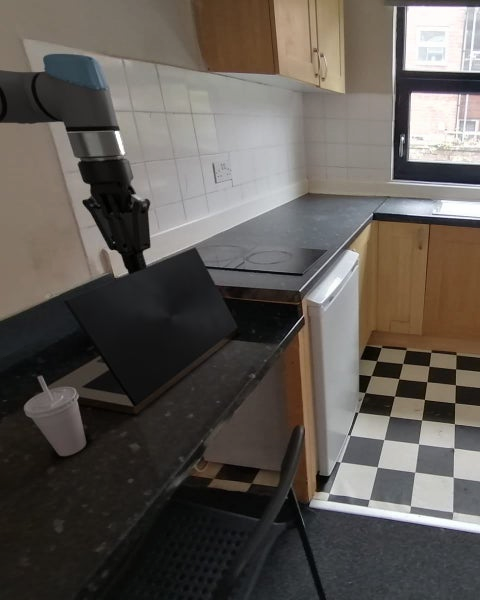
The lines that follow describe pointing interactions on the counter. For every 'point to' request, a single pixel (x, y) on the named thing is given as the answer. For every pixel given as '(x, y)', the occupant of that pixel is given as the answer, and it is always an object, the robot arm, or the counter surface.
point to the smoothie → (58, 418)
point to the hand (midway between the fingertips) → (141, 284)
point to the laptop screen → (154, 321)
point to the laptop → (117, 384)
